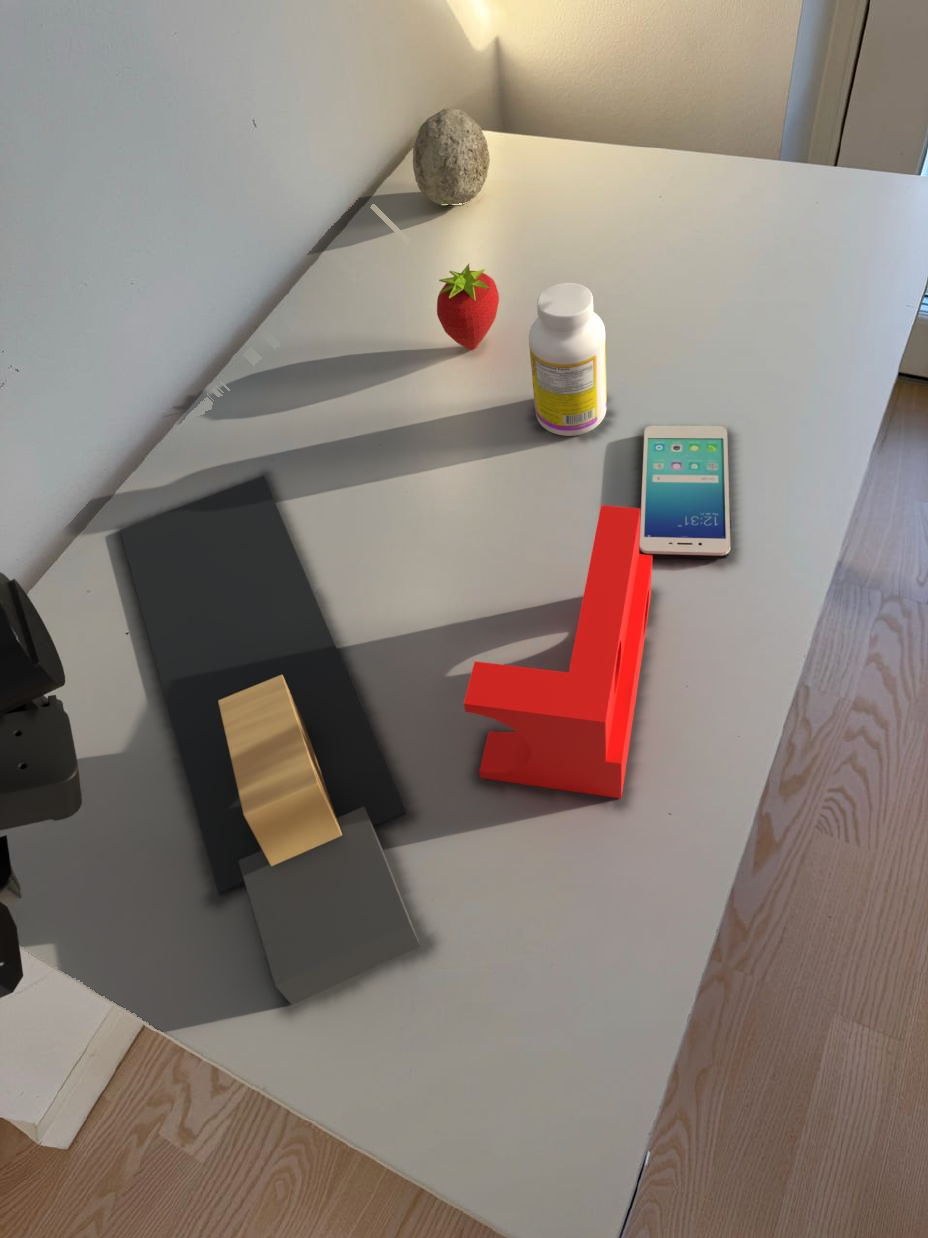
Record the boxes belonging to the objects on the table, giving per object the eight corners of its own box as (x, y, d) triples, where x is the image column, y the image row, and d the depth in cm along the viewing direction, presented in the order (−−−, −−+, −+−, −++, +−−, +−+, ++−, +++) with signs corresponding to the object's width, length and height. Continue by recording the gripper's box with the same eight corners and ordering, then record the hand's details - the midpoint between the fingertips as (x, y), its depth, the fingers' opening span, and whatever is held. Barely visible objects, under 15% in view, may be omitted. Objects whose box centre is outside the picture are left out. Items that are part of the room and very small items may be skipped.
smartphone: (728, 425, 89) (732, 553, 80) (727, 432, 89) (731, 560, 81) (643, 424, 90) (638, 551, 81) (643, 431, 91) (637, 558, 82)
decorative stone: (479, 225, 114) (469, 140, 106) (410, 221, 116) (395, 138, 108) (503, 176, 119) (495, 92, 111) (436, 173, 122) (424, 90, 114)
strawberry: (512, 327, 102) (504, 240, 94) (489, 375, 98) (478, 288, 90) (459, 321, 104) (446, 235, 96) (434, 368, 100) (418, 282, 92)
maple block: (318, 783, 63) (282, 674, 73) (243, 815, 62) (217, 700, 73) (342, 835, 66) (304, 723, 76) (270, 867, 65) (242, 749, 75)
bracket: (622, 724, 61) (463, 703, 64) (621, 798, 70) (480, 778, 72) (654, 509, 72) (516, 498, 74) (650, 596, 80) (526, 583, 82)
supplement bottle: (559, 382, 96) (553, 266, 86) (619, 404, 93) (620, 286, 83) (521, 425, 93) (510, 310, 83) (582, 448, 91) (578, 332, 80)
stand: (420, 946, 65) (410, 925, 62) (291, 1005, 64) (274, 986, 61) (375, 831, 70) (364, 806, 67) (255, 883, 69) (238, 860, 66)
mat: (406, 813, 71) (405, 811, 71) (219, 895, 69) (218, 893, 69) (265, 478, 93) (263, 475, 93) (121, 532, 91) (119, 529, 91)
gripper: (49, 872, 40) (183, 988, 52) (-1, 557, 51) (120, 715, 63) (-234, 992, 38) (-26, 1082, 51) (-223, 639, 49) (-54, 784, 62)
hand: (12, 896), depth 57 cm, fingers closed
